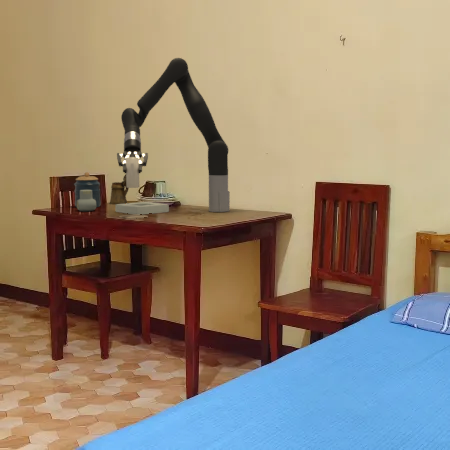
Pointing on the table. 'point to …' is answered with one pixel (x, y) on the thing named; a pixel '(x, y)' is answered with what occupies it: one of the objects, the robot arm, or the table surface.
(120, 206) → the board
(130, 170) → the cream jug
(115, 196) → the wooden mug
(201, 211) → the table surface
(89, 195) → the air freshener
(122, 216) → the cork coaster
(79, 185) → the canister
